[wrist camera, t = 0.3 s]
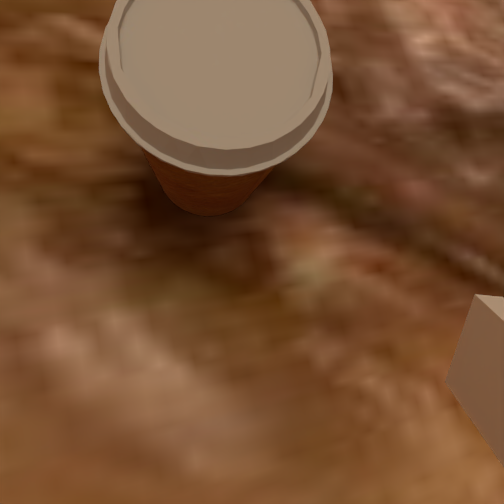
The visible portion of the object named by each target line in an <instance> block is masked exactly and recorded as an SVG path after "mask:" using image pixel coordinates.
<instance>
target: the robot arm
mask: <svg viewBox="0 0 504 504" xmlns="http://www.w3.org/2000/svg"><path fill="white" fill-rule="evenodd" d="M445 383H446V384H447V386H448V387H449V389H450V390H451V392H452V393H453V394H454V396H455V397H456V399H457V400H458V402H459V403H460V405H461V406H462V408H463V409H464V410H465V412H466V413H467V415H468V416H469V418H470V419H471V421H472V422H473V423H474V425H475V426H476V428H477V429H478V431H479V432H480V434H481V435H482V436H483V438H484V439H485V441H486V442H487V444H488V445H489V447H490V448H491V450H492V451H493V452H494V454H495V455H496V457H497V458H498V460H499V461H500V463H501V464H502V465H503V467H504V298H503V297H498V296H487V295H477V294H475V295H474V298H473V301H472V304H471V307H470V310H469V313H468V316H467V319H466V322H465V325H464V328H463V330H462V333H461V336H460V339H459V342H458V345H457V348H456V351H455V354H454V357H453V360H452V363H451V365H450V368H449V371H448V374H447V377H446V380H445Z"/></svg>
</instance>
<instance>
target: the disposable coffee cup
mask: <svg viewBox="0 0 504 504" xmlns="http://www.w3.org/2000/svg"><path fill="white" fill-rule="evenodd" d="M99 74H100V79H101V84H102V88H103V93H104V95H105V97H106V100H107V102H108V104H109V107H110V109H111V111H112V113H113V114H114V116H115V117H116V119H117V120H118V122H119V123H120V125H121V127H122V128H123V129H124V130H125V131H126V133H127V134H128V135H129V136H130V137H131V138H132V139H133V140H134V141H135V142H136V144H138V145H139V146H140V147H141V149H142V151H143V152H144V155H145V156H146V158H147V160H148V162H149V164H150V165H151V168H152V169H153V171H154V173H155V175H156V177H157V179H158V181H159V183H160V184H161V186H162V189H163V191H164V192H165V194H166V195H167V197H168V198H169V199H170V200H171V201H172V202H173V203H174V204H175V205H177V206H178V207H180V208H181V209H183V210H185V211H187V212H190V213H192V214H196V215H201V216H217V215H222V214H225V213H228V212H231V211H232V210H234V209H236V208H237V207H239V206H240V205H241V204H242V203H244V202H245V201H246V200H247V198H248V197H249V196H250V195H251V193H252V192H253V191H254V190H255V189H256V188H257V187H258V186H259V184H260V183H261V182H262V181H263V180H264V179H265V178H266V176H267V175H268V174H269V173H270V172H271V171H272V170H273V168H274V167H275V166H276V165H277V164H279V163H281V162H283V161H286V160H287V159H288V158H290V157H291V156H292V155H293V154H295V153H296V152H297V151H298V150H300V149H301V148H302V147H303V146H304V145H305V144H307V142H308V141H309V140H310V139H311V138H312V137H313V135H314V133H315V132H316V130H317V129H318V127H319V126H320V124H321V123H322V121H323V119H324V117H325V114H326V112H327V109H328V107H329V103H330V98H331V94H332V83H333V73H332V65H331V59H330V47H329V42H328V38H327V33H326V30H325V28H324V25H323V23H322V21H321V19H320V17H319V15H318V14H317V12H316V10H315V8H314V6H313V5H312V3H311V2H310V0H117V2H116V3H115V6H114V9H113V12H112V15H111V18H110V21H109V23H108V24H107V26H106V28H105V32H104V36H103V39H102V43H101V47H100V51H99Z"/></svg>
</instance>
